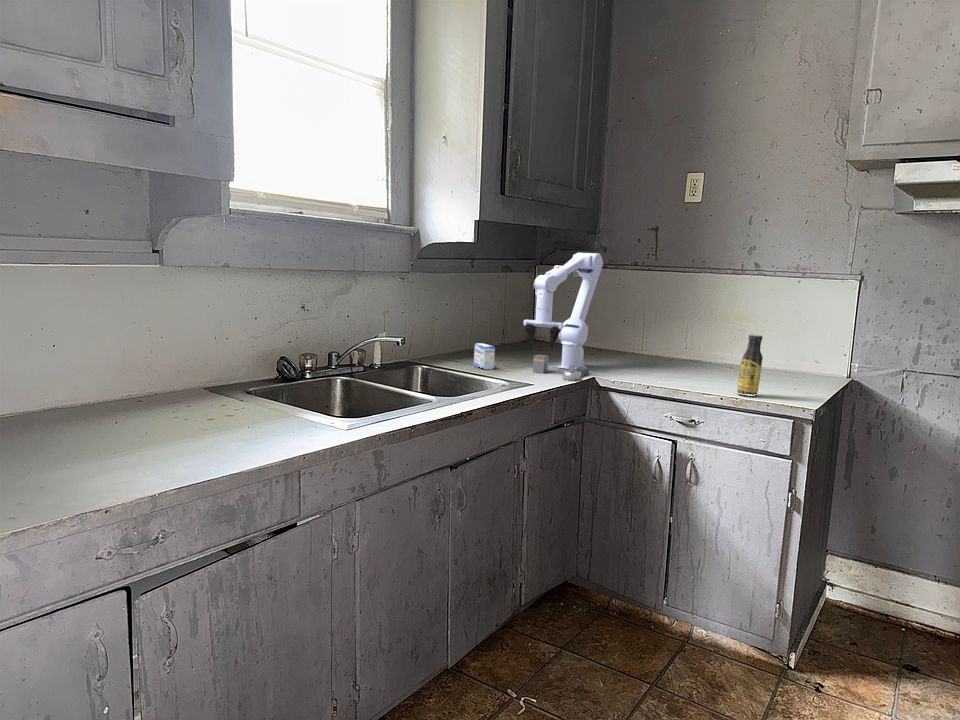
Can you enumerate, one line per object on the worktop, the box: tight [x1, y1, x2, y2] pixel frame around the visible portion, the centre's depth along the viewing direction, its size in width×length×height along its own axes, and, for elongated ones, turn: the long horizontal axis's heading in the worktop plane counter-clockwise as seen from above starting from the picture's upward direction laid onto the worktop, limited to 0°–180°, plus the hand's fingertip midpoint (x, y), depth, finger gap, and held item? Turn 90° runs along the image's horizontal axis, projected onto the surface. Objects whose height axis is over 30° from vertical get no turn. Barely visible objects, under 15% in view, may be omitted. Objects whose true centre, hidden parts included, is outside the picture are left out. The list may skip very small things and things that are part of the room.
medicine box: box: [473, 342, 496, 370], centre depth 244 cm, size 8×4×9 cm, turn 28°
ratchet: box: [562, 365, 590, 382], centre depth 234 cm, size 18×6×5 cm, turn 153°
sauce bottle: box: [736, 333, 763, 395], centre depth 213 cm, size 7×6×20 cm
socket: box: [532, 354, 549, 374], centre depth 241 cm, size 4×4×6 cm
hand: (542, 346), depth 239 cm, fingers open, 7 cm apart
